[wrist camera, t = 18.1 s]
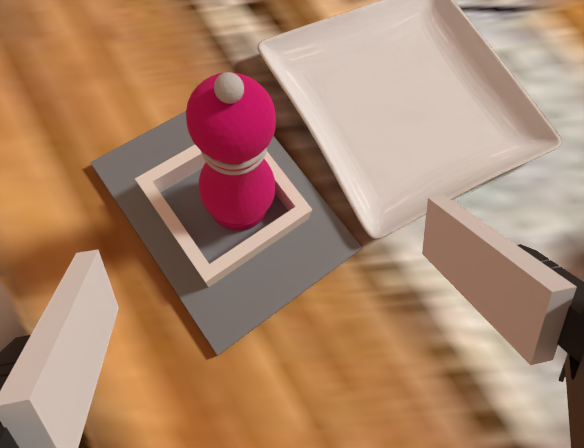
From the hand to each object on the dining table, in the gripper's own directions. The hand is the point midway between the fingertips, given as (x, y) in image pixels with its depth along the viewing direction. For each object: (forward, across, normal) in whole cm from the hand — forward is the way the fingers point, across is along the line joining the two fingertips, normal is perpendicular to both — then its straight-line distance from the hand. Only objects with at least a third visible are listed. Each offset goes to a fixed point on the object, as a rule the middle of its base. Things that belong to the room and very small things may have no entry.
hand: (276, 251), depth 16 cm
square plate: (+33, +21, -3) cm, 39 cm away
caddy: (+26, -2, -9) cm, 27 cm away
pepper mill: (+25, 0, -9) cm, 27 cm away
